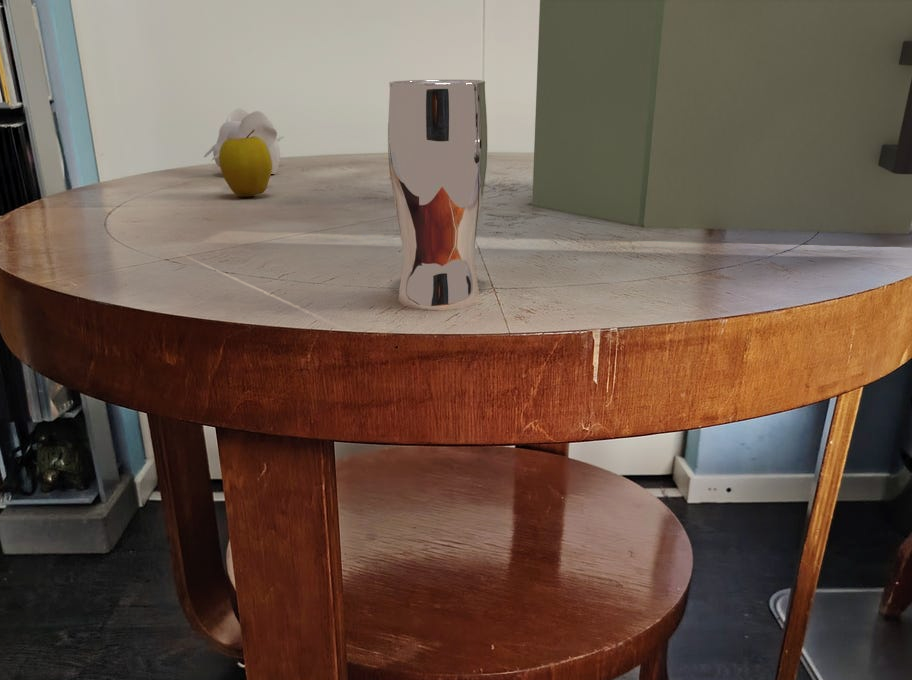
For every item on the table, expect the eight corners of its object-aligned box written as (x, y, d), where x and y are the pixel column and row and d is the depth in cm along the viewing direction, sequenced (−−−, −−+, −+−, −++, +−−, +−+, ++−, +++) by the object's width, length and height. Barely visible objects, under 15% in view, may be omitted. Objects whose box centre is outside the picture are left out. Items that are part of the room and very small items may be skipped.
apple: (285, 195, 116) (279, 128, 112) (247, 202, 111) (239, 132, 107) (251, 191, 119) (245, 126, 115) (213, 197, 115) (205, 130, 111)
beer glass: (428, 285, 72) (425, 78, 65) (502, 297, 68) (507, 79, 62) (373, 304, 67) (364, 82, 60) (451, 318, 63) (450, 84, 57)
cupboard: (788, 211, 101) (829, -38, 90) (636, 237, 89) (662, -47, 78) (678, 194, 113) (702, -28, 102) (531, 215, 100) (540, -35, 89)
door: (924, 258, 78) (1000, -62, 67) (643, 250, 83) (672, -53, 72) (903, 242, 84) (970, -54, 73) (642, 235, 89) (668, -46, 78)
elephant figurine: (200, 173, 136) (192, 109, 132) (276, 168, 141) (271, 106, 137) (218, 181, 128) (210, 113, 124) (297, 175, 133) (292, 109, 129)
